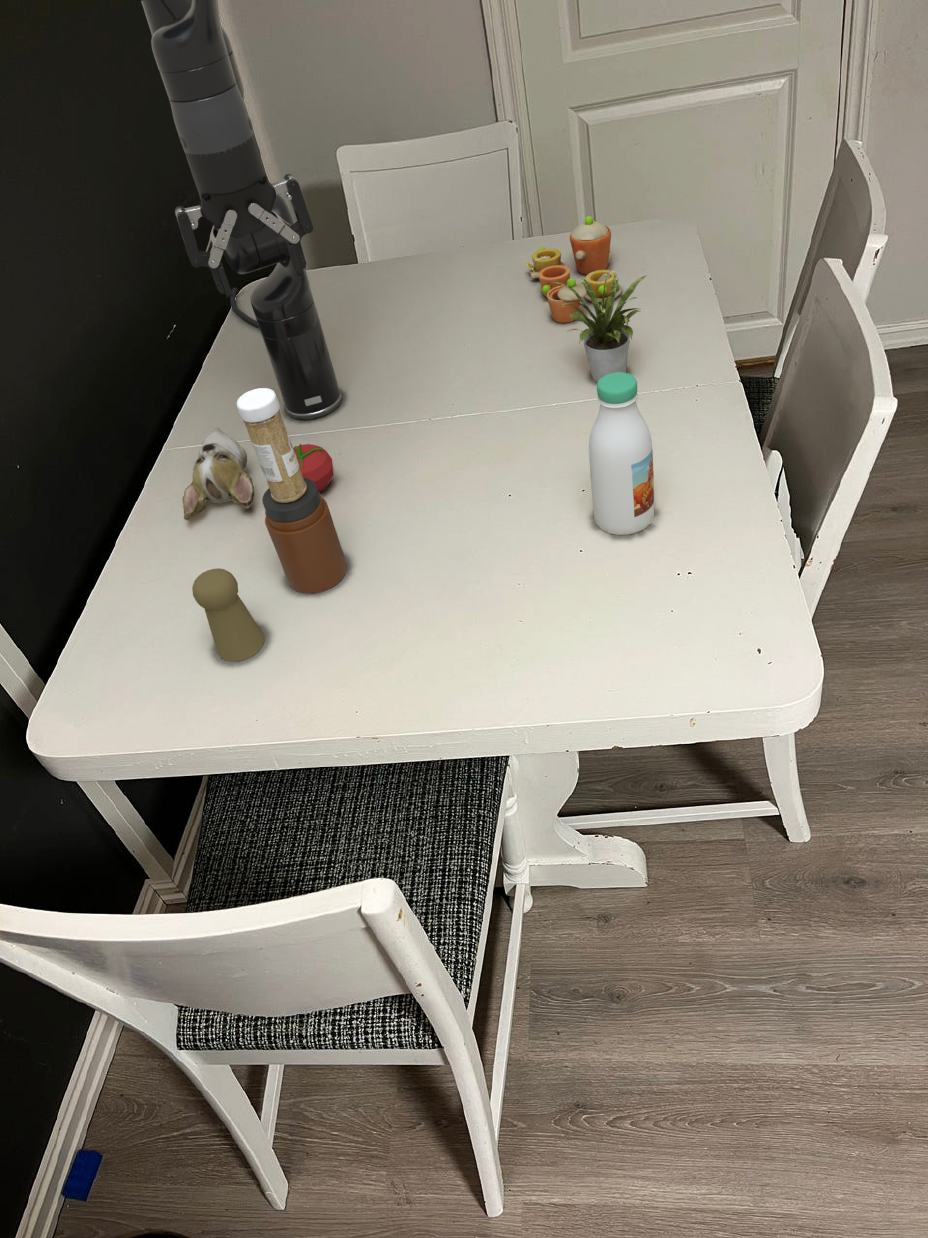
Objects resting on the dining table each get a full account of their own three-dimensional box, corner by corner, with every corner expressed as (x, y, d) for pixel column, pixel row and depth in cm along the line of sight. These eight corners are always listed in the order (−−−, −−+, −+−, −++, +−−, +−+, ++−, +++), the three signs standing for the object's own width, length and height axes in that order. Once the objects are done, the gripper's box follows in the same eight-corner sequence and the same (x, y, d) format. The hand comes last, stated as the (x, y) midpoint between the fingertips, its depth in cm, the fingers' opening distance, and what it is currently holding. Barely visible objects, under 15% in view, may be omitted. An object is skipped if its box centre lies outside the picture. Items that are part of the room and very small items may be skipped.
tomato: (340, 498, 135) (326, 453, 130) (287, 510, 135) (271, 466, 130) (336, 467, 141) (323, 423, 136) (285, 479, 141) (270, 436, 136)
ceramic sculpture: (246, 411, 140) (238, 474, 129) (265, 457, 146) (259, 521, 136) (176, 424, 140) (163, 488, 130) (198, 470, 147) (187, 534, 136)
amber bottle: (282, 566, 126) (251, 487, 118) (338, 545, 128) (312, 466, 119) (295, 601, 121) (264, 522, 112) (354, 580, 122) (328, 499, 113)
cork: (219, 631, 119) (188, 565, 111) (266, 622, 119) (237, 556, 111) (214, 665, 115) (181, 600, 107) (263, 657, 114) (233, 590, 107)
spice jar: (314, 492, 115) (281, 396, 105) (280, 509, 113) (245, 413, 104) (297, 477, 118) (264, 381, 108) (265, 493, 116) (229, 397, 107)
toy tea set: (525, 267, 180) (519, 216, 173) (606, 252, 179) (603, 200, 172) (545, 331, 161) (539, 277, 154) (636, 314, 160) (634, 258, 153)
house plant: (542, 397, 146) (530, 297, 135) (569, 351, 155) (560, 254, 143) (633, 403, 141) (629, 300, 129) (656, 355, 149) (653, 255, 138)
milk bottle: (616, 545, 119) (607, 407, 105) (582, 514, 124) (570, 380, 110) (666, 520, 120) (664, 381, 107) (631, 491, 126) (625, 356, 112)
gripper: (275, 109, 103) (314, 254, 114) (147, 145, 101) (200, 289, 112) (290, 127, 98) (329, 277, 109) (155, 166, 95) (210, 314, 107)
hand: (264, 283), depth 110 cm, fingers open, 8 cm apart
